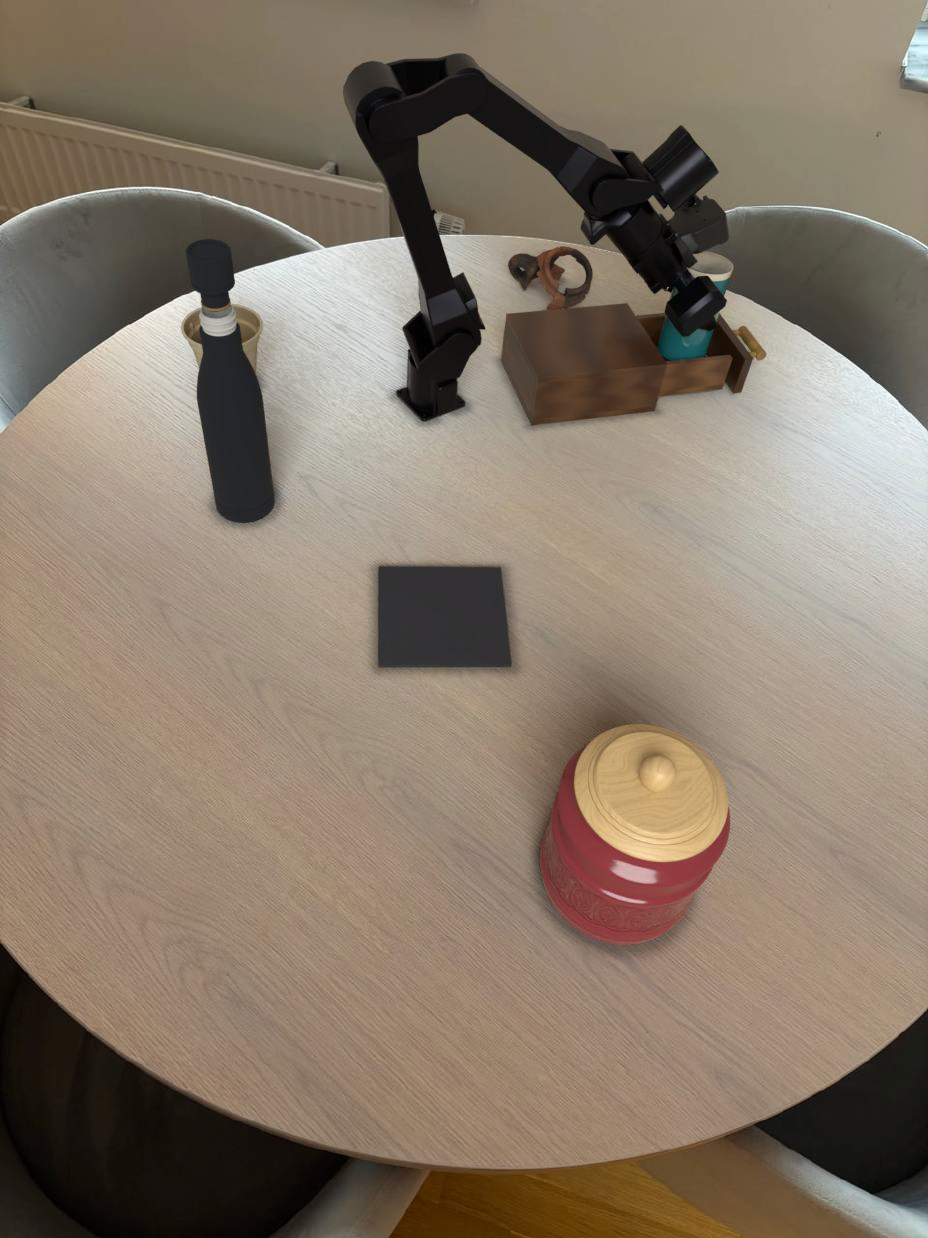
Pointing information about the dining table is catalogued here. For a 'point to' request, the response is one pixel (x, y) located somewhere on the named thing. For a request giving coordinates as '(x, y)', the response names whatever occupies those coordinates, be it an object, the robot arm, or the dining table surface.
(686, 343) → the tumbler
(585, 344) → the cabinet
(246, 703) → the dining table surface
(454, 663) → the coaster
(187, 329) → the flower pot
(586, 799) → the kitchen canister
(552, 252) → the brown ring sculpture
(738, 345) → the drawer
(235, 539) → the dining table surface
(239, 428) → the black water bottle
